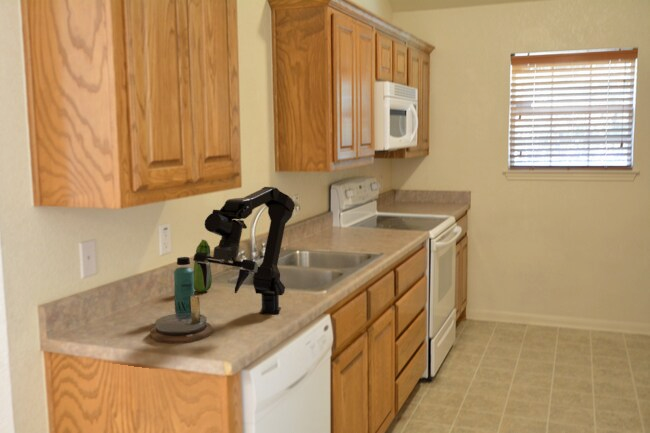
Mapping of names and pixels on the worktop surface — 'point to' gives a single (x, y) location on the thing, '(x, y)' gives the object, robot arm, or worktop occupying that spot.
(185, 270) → the beverage bottle
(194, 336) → the stand base
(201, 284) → the vegetable
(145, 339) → the worktop surface
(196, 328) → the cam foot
